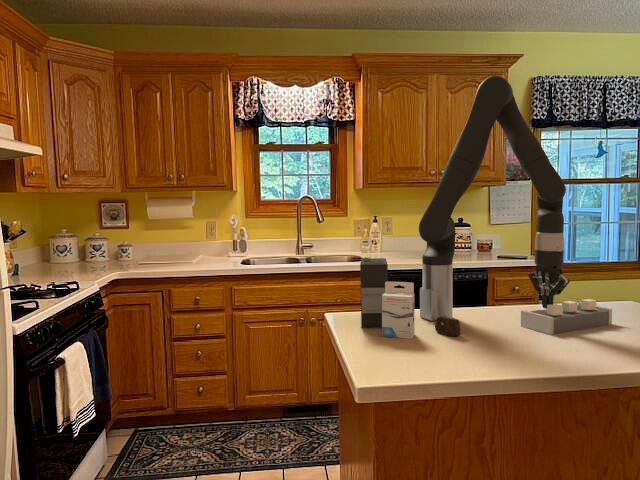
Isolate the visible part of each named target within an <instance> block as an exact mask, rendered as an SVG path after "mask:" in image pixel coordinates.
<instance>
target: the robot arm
mask: <svg viewBox="0 0 640 480" xmlns="http://www.w3.org/2000/svg"><path fill="white" fill-rule="evenodd" d="M472 102H473V103H472V106H471V109H470V112H469V115H468V118H467V120H466V123H465V125H464V127H463V129H462V131H460V132H461V133H460V135H459V136H458V138H457V140H456V143H455V145H454V147H453V149H452V151H451V154H450V156H449V158H448V160H447V163H446V166H445V167H444V170H443V173H442V175H441V178H440V180H439V183H438V185H437V187H436V190H435V191H434V192H435V193H434V195H433V197H432V199H431V201H430V203H429V205H428V206H427V208H426V210H425V212H424V213H423V215H422V217H421V218H420V221H419V225H418V232H419V233H418V234H419V236H420V238H421V240H423V241H424V242H426V248H425V251H424V253H423V254H422V258H421V259H422V260H421V261H422V263H421V265H422V287H420V288H419V317H420V318H421V319H425V320H428V321H436V322H437V318H438V317H441V316H446V317H448V318H451V319H454V318H453V314H454V313H453V310H454V309H453V258H454V256H455V252H456V250H455V248H456V225H455V221H454V219H453V217H452V215H453V212H454V210H455V207H456V206H457V204H458V202H459V201H460V199H461V198H462V197H463V196H464V194H465V193H466V192H467V190H468V189H469V188H470V186H471V185H472V184H473V182H474V180H475V178H476V176H477V175H478V172H479V170H480V168H481V165H482V163H483V161H484V158H485V155H486V152H487V148H488V147H487V146H488V144H489V138H490V135H491V132H492V130H493V127H494V125H495V123H496V121H497V123H498V125H499V126H500V128H501V129H502V131H503V132H504V134H505V137H506V139H507V141H508V143H509V145H510V147H511V150H512V152H513V153H514V156H515V158H516V159H517V161H518V163H519V164H520V166H521V168H522V169H523V171H524V172H525V174H526V175H527V176H528V177H529V179H530V180H531V183H532V184H533V187H534V188H535V191H536V200H537V201H536V203H537V206H536V207H537V216H536V229H535V231H536V232H535V239H534V264H535V265H536V266H535V269H534V271H533V272H532V273H528V278H529V280H530V282H531V284H532V286H533V288H534V289H535V291H536V292H537V293H540V295H541V307H542V308H543V309H544V310H545V309H547V305H551V304H554V297H555V296H557V295H561V293H562V292H563V291H564V290H565V288H566V287H567V286H568V285H569V284H570V283H571V280H570V279H569V278H566V277H565V275H563V273H564V272H563V271H564V270H563V268H562V267H563V265H564V263H565V262H564V259H565V258H564V257H565V235H564V234H565V233H564V231H565V229H564V228H565V227H564V226H565V219H564V217H565V216H564V214H563V208H564V205H563V204H564V197H565V196H566V191H567V187H566V184H565V183H564V181H563V179H562V177H561V176H560V174H559V173H558V172H557V170H556V169H555V168H554V166H553V164H552V162H551V161H550V160H549V157H548V155H547V153H546V152H545V149H544V148H543V147H542V145H541V143H540V142H539V140H538V139H537V137H536V135H535V134H534V133H533V131H532V130H531V129H530V126H529V125H528V124H527V121H525V119H524V117H523V115H522V112H521V111H520V109H519V107H518V104H517V102H516V98H515V96H514V91H513V87H512V86H511V84H510V83H509V81H508V80H507V79H505V78H504V77H502V76H499V75H492V76H489V77H487V78H485V79H484V80H483V81H482V82H481V83H480V84H479V86H478V88H477V90H476V93H475V97H474V101H472Z"/></svg>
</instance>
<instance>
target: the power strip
mask: <svg viewBox="0 0 640 480" xmlns="http://www.w3.org/2000/svg"><path fill="white" fill-rule="evenodd" d="M608 325H613V308H610V307H606V306H601V305H596V309H592V310H586V309H582V308H581V301H579V302H577V311H574V312H566V311H563V314H561V315H555V316H554V315H550V314H547V309H545V308H544V309H537V310H531V311H528V310H525V309H524V310H523V309H522V310H520V326H521V327H523V328H525V329H526V328H527V329H528V330H533V331H537V332H539V333H543V334H547V335H554V334H555V335H556V334H560V333H566V332H573V331H579V330H584V329H590V328H596V327H597V328H598V327H603V326H608Z"/></svg>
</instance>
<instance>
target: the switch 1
mask: <svg viewBox="0 0 640 480" xmlns="http://www.w3.org/2000/svg"><path fill="white" fill-rule="evenodd" d="M547 314H550V315H554V316H555V315H561V314H563V305H562V304H557V303H553V304H551V305H547Z"/></svg>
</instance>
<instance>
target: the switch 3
mask: <svg viewBox="0 0 640 480" xmlns="http://www.w3.org/2000/svg"><path fill="white" fill-rule="evenodd" d="M580 302H581V308H582V309H586V310H592V309H596V306H597V300H595V299H592V298H587V299H586V298H585V299H581V300H580Z"/></svg>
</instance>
